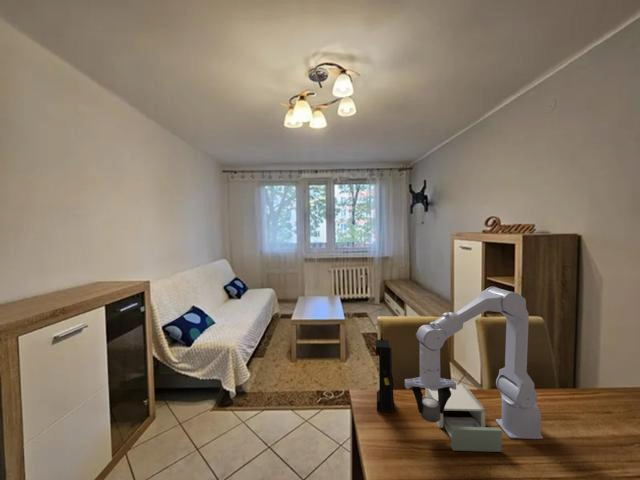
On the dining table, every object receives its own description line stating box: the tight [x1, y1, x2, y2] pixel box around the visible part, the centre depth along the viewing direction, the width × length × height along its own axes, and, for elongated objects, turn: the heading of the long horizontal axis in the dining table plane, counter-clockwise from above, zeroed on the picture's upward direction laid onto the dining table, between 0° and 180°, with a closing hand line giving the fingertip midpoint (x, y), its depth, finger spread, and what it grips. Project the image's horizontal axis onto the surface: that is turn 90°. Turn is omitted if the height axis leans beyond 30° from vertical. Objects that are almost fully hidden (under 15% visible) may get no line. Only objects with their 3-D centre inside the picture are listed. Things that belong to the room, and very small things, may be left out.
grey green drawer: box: [443, 416, 503, 453], centre depth 85 cm, size 13×13×6 cm
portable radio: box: [375, 332, 395, 413], centre depth 99 cm, size 8×6×25 cm
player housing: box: [424, 384, 486, 429], centre depth 95 cm, size 14×14×6 cm
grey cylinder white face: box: [420, 397, 440, 423], centre depth 84 cm, size 6×6×4 cm
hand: (430, 411), depth 84 cm, fingers closed on grey cylinder white face, 5 cm apart
